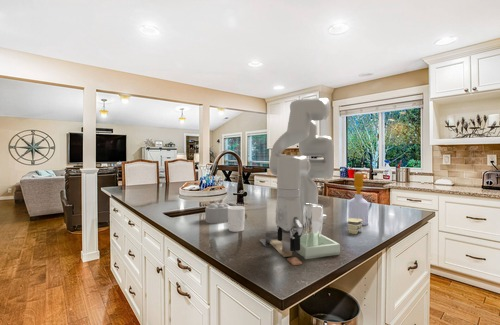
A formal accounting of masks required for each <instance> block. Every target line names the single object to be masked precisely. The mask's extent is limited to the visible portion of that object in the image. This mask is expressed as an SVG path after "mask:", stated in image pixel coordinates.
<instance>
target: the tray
mask: <svg viewBox="0 0 500 325" xmlns="http://www.w3.org/2000/svg"><path fill="white" fill-rule="evenodd" d="M304 243H305V233H302V235H301V238H300V250H299V251H295V252H296V253H297V254H298V255H300V256H301V257H302V258H303V259H305V260H309V259H316V258H317V259H319V258H323V257H331V256H339V255H340V254H341V244H340V243H338V242H337V241H335V240H333V239H331V238H329V237H327V236H326V235H323V234H322V233H321V245H319V246H311V247H306V246H305V245H304Z"/></svg>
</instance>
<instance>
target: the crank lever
mask: <svg viewBox="0 0 500 325" xmlns="http://www.w3.org/2000/svg"><path fill="white" fill-rule="evenodd" d="M277 235H278V231H275V230H268V231H266V232H265V237H264V239H265V241H266V242H267V243H270V244H271V245H272V247H273V248H274V249H275V250H276V251H277V252H278V253H279V254H280V255H281V256H282V257H283V258H286V257H288V258H289V257H292V256H293V251H290V238H292V237H291V234H290V231H285V230H284V229H282V242H281V241H278V240H277Z"/></svg>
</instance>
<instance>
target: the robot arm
mask: <svg viewBox="0 0 500 325" xmlns="http://www.w3.org/2000/svg"><path fill="white" fill-rule="evenodd" d="M330 112H331V103H330V100H329V98H327V97H316V98H302V99H301V98H300V99H296V100H292V101H291V102H290V104H289V117H288V122H287V123H288V124H287V129H286V131H285V132H284V133H282V134H281V135H280V136H279V138H277V140H276V141H275V142H274V144H273V145H272V148H271V152H270V157H269V164H268V165H269V166H268V167H269V171H270V173H271V175H273V176H276V205H275V217H274V220H275V224H276V229H277V232H278V235H277V240H278V241H282V229H284V230H285V231H290V234H291V237H292V238H290V251H292V252H296V251H299V250H300V238H301V235H302V234H303V230H304V222H303V210H304V204H306V203H317V204H319V203H318V202H319V201H318V200H319V197H318V196H319V195H318V193H319V188H318V185H317V184H316V182H315V181H314V180H315V179H318V180H319V179H320V180H321V179H322V180H323V179H324V180H327V179H331V178H332V177H333V176H334V173H335V172H334V170H335V168H334V167H335V163H334V162H335V160H334V158H335V157H334V153H335V152H334V151H335V150H334V147H335V146H334V141H333V138H332V137H331V136H328V135H318V132H317V129H318V128H317V124H316V122H317V121H324V120H326V119H327V118H328V117H329V116H330ZM315 121H316V122H315ZM297 144H298V152H299V154H300V155H299V154H298V155H297V154H282V153H283V152H284V151H285V150H286V149H288V148H289V147H292V146H295V145H297ZM309 157H322V158H309ZM325 219H327V215H326V214H323V220H325Z"/></svg>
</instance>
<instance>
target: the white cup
mask: <svg viewBox="0 0 500 325" xmlns="http://www.w3.org/2000/svg"><path fill="white" fill-rule="evenodd" d="M227 209H228V222H227V223H228V231H230V232H233V233H237V232H238V233H239V232H242V231H244V230H245V218H246V216H245V215H246V206H243V205H229V207H228V208H227Z"/></svg>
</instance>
